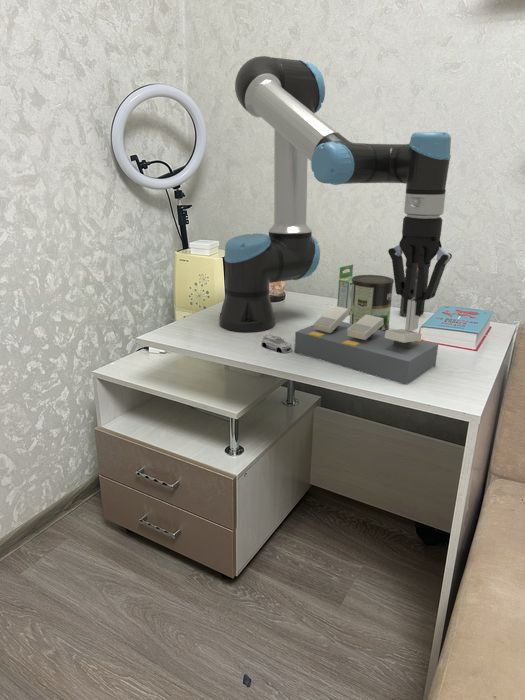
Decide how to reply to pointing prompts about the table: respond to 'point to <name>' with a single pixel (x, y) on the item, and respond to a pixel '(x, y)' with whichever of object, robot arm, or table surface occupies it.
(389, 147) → the robot arm
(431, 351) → the switch unit
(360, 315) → the coffee can
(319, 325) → the rocker left
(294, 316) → the table surface
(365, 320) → the rocker mid
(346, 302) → the ink box
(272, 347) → the toy car
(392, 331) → the rocker right
